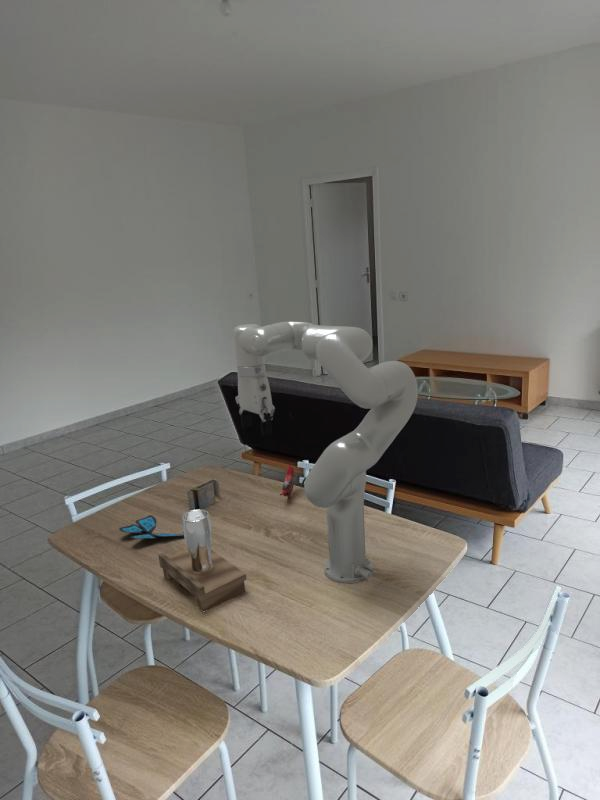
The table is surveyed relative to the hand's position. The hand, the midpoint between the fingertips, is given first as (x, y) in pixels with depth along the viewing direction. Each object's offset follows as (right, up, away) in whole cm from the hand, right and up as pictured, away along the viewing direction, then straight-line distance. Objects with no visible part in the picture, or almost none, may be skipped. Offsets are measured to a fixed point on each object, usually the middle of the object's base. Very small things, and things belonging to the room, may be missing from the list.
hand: (256, 430), depth 162 cm
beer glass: (-13, -35, -12) cm, 39 cm away
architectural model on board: (-20, -28, +36) cm, 50 cm away
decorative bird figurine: (+8, -26, +35) cm, 44 cm away
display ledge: (-13, -39, -10) cm, 43 cm away
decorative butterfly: (-34, -34, +18) cm, 51 cm away
